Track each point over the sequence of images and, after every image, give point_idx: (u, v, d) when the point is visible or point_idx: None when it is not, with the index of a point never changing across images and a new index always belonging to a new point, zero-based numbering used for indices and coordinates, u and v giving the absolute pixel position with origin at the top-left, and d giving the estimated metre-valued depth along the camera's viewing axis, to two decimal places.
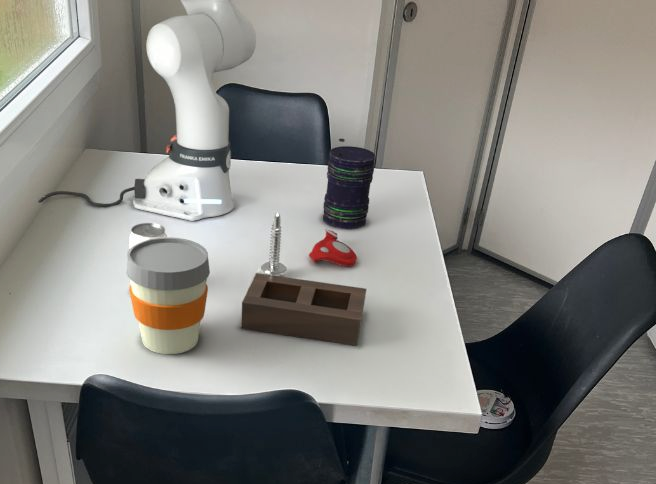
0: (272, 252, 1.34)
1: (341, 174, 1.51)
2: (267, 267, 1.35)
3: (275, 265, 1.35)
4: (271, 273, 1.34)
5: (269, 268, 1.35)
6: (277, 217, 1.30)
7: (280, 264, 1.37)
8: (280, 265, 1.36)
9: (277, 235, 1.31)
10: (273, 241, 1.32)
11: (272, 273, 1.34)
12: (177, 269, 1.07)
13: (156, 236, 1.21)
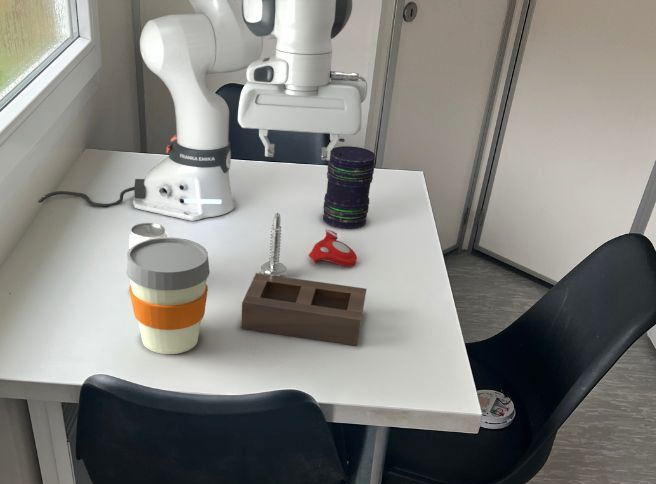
0: (272, 252, 1.34)
1: (341, 174, 1.51)
2: (267, 267, 1.35)
3: (275, 265, 1.35)
4: (271, 273, 1.34)
5: (269, 268, 1.35)
6: (277, 217, 1.30)
7: (280, 264, 1.37)
8: (280, 265, 1.36)
9: (277, 235, 1.31)
10: (273, 241, 1.32)
11: (272, 273, 1.34)
12: (177, 269, 1.07)
13: (156, 236, 1.21)
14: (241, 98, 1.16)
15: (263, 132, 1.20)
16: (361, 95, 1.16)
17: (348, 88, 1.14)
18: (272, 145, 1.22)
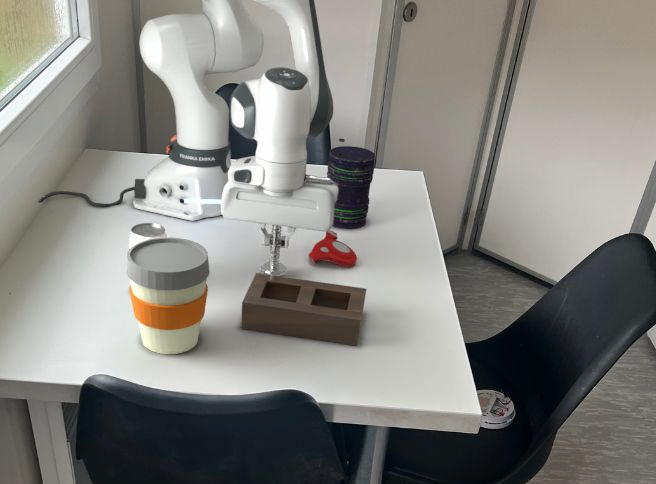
0: (272, 252, 1.34)
1: (341, 174, 1.51)
2: (267, 267, 1.35)
3: (275, 265, 1.35)
4: (271, 273, 1.34)
5: (269, 268, 1.35)
6: None
7: (280, 264, 1.37)
8: (280, 265, 1.36)
9: (277, 235, 1.31)
10: (273, 241, 1.32)
11: (272, 273, 1.34)
12: (177, 269, 1.07)
13: (156, 236, 1.21)
14: (223, 194, 1.27)
15: (260, 225, 1.31)
16: (333, 197, 1.26)
17: (320, 192, 1.24)
18: (269, 236, 1.33)
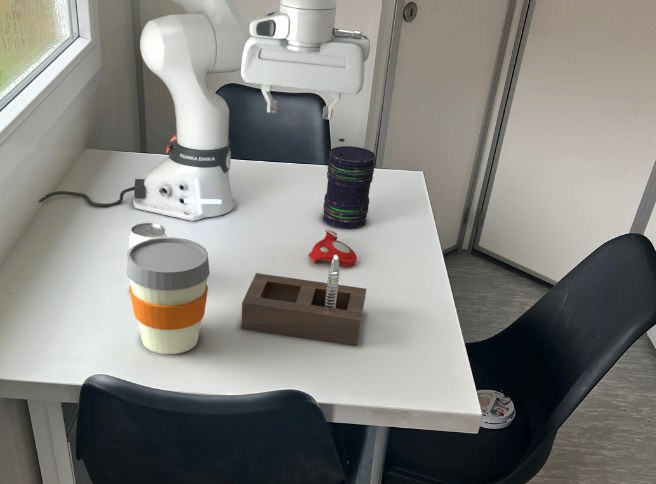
0: (328, 297, 1.21)
1: (341, 174, 1.51)
2: None
3: None
4: None
5: None
6: (336, 260, 1.17)
7: None
8: None
9: (335, 279, 1.19)
10: (330, 285, 1.19)
11: None
12: (177, 269, 1.07)
13: (156, 236, 1.21)
14: (244, 52, 1.17)
15: (265, 88, 1.21)
16: (363, 54, 1.16)
17: (350, 46, 1.14)
18: (275, 101, 1.23)
